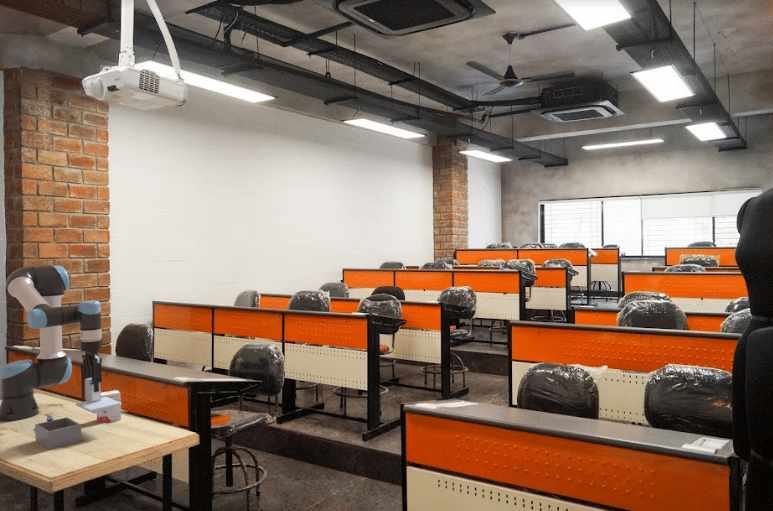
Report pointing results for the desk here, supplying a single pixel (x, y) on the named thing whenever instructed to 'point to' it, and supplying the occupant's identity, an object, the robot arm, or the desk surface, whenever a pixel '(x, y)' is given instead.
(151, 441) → the desk surface
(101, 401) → the lid
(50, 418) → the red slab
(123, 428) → the desk surface
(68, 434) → the tub
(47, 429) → the walnut part
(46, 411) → the desk surface
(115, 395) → the ink box
